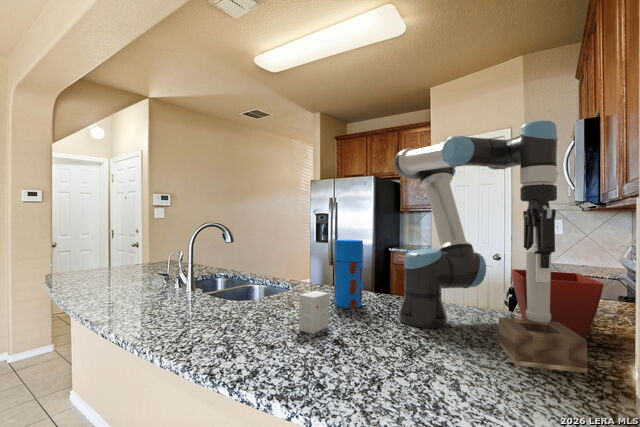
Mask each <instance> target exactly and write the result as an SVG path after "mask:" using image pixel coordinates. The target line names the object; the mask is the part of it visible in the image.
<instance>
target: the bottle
mask: <svg viewBox="0 0 640 427" xmlns="http://www.w3.org/2000/svg"><path fill="white" fill-rule="evenodd" d="M535 251H538V249H537V239H536V229H535V226H534V244H533V245H532V247H531V248H530V249H529V250H525V270H526V278H527V310H526V317H527V319H529V320H531V321H535V322H542V323H548V322H550V320H551V314H550V282H537V281H536V254H535V253H534V252H535ZM551 272H552V253H551V254H550V281H551Z"/></svg>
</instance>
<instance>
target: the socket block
mask: <svg viewBox="0 0 640 427" xmlns="http://www.w3.org/2000/svg"><path fill="white" fill-rule="evenodd" d="M498 344H499V346H500V347H501V348H502V349H503V351H504V352H505V353H506V355H507V356H508V357H509V359H510V360H511V362H513V364H514V365H515V366H519V367H530V368H536V369H537V368H538V369H545V370H546V369H547V370H557V371H565V372H566V371H567V372H574V373H583V374H588V340H587V339H585V338H582V337H581V336H579V335H578V334H576V333H574V332H573V331H571V330H570V329H568V328H567V327H565V326H564V325H562V324H561V323H559V322H551V321H550V322H548V323H542V322H535V321H531V320H526V319H523V318H511V317H510V318H509V317H501V316H499V317H498Z"/></svg>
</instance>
